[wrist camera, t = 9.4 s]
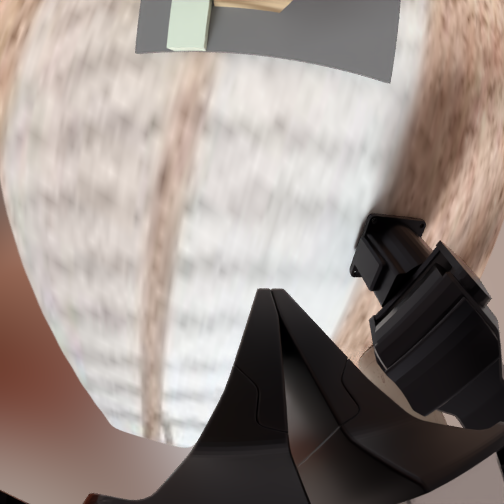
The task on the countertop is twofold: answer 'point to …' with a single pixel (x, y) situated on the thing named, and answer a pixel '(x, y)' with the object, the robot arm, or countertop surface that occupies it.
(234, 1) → the tee block
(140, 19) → the mat
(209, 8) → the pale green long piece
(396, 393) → the thermos bottle
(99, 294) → the countertop surface
